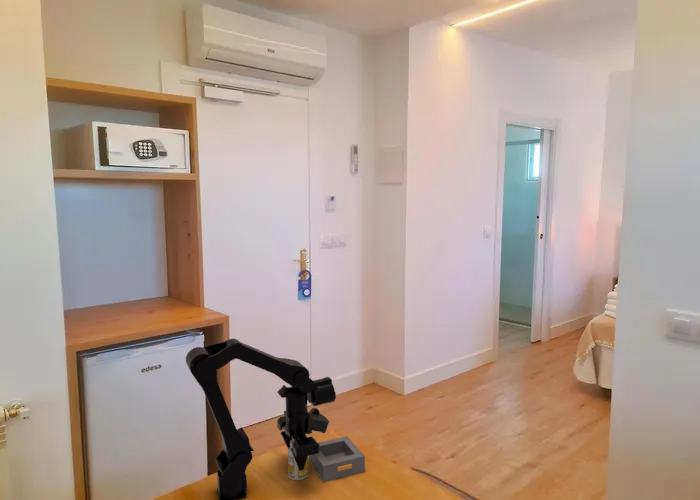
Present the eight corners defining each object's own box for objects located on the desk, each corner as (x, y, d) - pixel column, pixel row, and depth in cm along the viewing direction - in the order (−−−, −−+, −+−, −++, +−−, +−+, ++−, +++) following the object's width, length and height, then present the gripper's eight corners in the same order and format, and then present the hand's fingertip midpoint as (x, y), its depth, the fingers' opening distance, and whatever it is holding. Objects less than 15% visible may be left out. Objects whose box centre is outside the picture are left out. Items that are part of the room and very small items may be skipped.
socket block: (324, 483, 130) (323, 467, 129) (308, 459, 141) (308, 444, 140) (365, 472, 134) (365, 456, 134) (347, 450, 146) (347, 436, 145)
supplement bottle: (310, 469, 136) (309, 436, 135) (306, 481, 130) (305, 446, 129) (290, 469, 136) (289, 435, 135) (286, 480, 131) (285, 445, 130)
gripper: (338, 417, 126) (339, 475, 128) (313, 391, 143) (314, 442, 145) (296, 426, 121) (297, 486, 123) (275, 397, 138) (277, 450, 140)
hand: (298, 464), depth 133 cm, fingers closed on supplement bottle, 5 cm apart
